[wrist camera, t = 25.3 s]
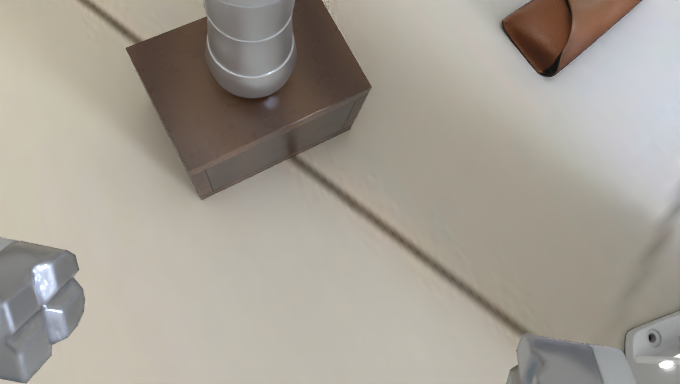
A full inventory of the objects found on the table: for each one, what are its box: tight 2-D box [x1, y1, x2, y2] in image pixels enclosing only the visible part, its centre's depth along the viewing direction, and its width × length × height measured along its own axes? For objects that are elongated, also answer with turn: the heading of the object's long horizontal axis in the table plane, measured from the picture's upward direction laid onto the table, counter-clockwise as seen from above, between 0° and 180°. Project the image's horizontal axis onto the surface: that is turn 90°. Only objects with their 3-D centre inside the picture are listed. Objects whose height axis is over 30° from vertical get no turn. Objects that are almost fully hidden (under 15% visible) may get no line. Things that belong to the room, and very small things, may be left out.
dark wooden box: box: [126, 0, 371, 200], centre depth 47 cm, size 16×11×10 cm
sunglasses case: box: [502, 0, 642, 77], centre depth 58 cm, size 18×7×7 cm
